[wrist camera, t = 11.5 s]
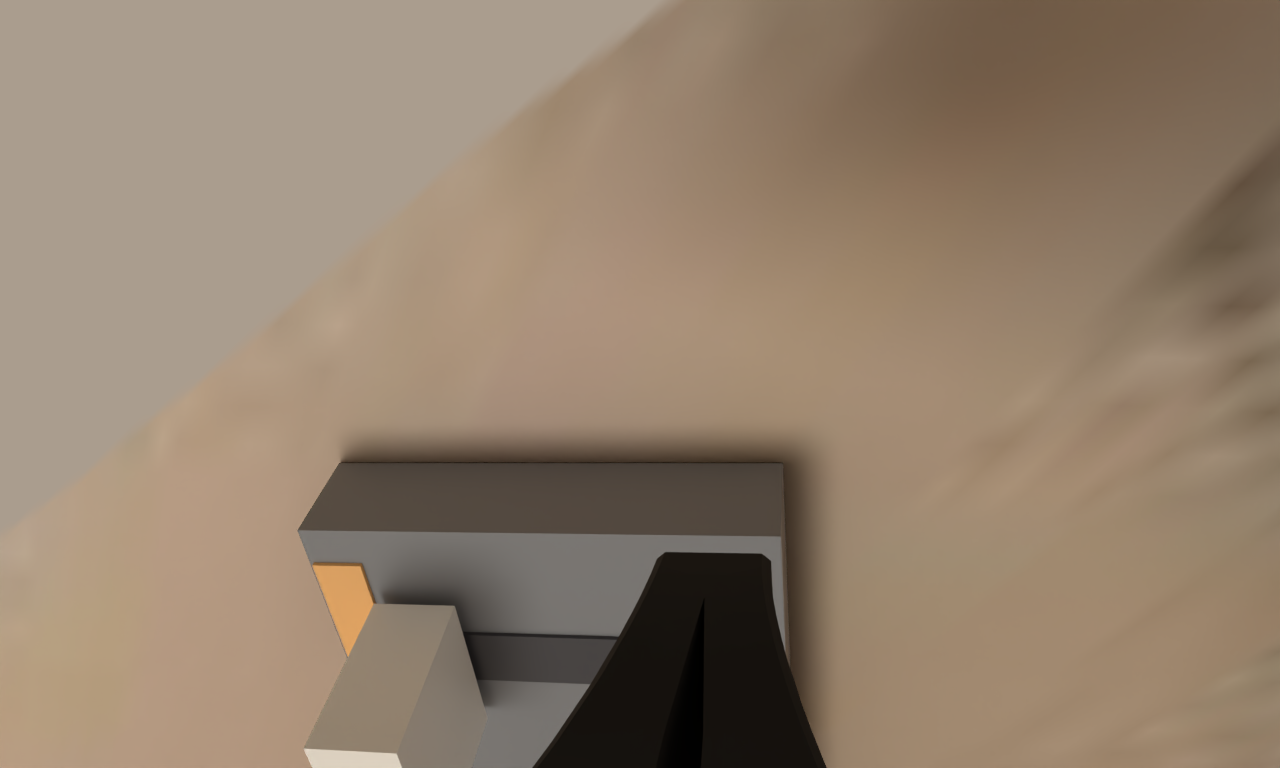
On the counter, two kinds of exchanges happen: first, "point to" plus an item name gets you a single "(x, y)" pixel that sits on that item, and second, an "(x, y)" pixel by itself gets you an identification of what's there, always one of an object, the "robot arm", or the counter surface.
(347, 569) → the board
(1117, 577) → the counter surface
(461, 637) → the block
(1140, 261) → the counter surface
